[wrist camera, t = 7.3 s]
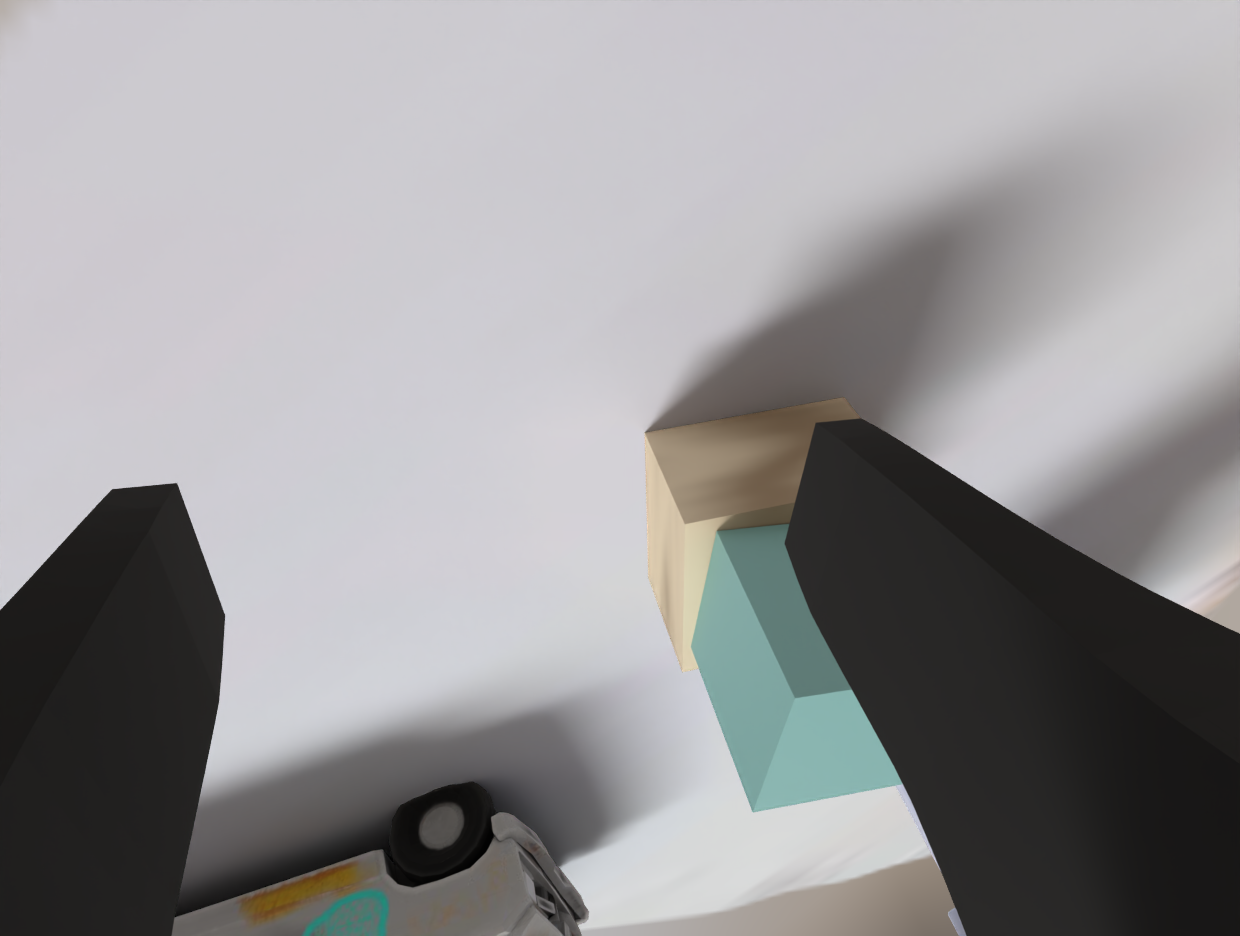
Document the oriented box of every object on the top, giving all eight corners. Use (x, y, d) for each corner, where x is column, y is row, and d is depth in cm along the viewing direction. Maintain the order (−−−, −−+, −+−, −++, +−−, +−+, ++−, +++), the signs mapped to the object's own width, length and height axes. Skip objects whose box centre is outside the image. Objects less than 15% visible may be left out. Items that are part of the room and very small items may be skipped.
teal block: (877, 514, 21) (985, 668, 18) (834, 627, 24) (919, 781, 20) (716, 530, 20) (794, 697, 17) (690, 646, 23) (752, 812, 19)
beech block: (841, 393, 24) (909, 479, 21) (817, 538, 28) (872, 629, 25) (643, 429, 23) (684, 524, 20) (647, 574, 27) (682, 672, 24)
